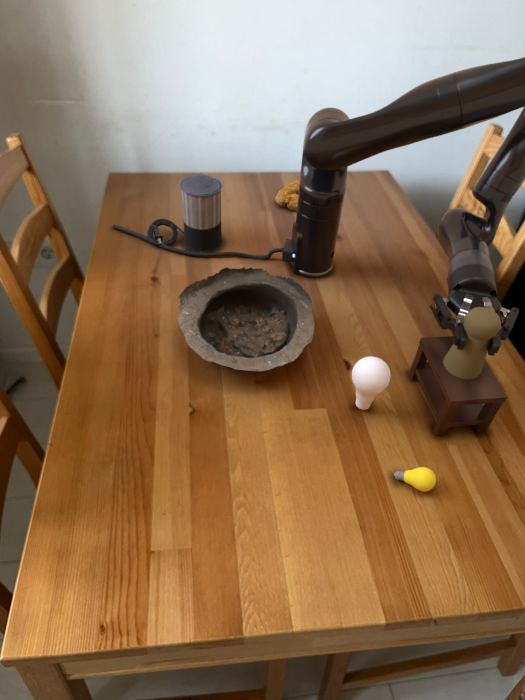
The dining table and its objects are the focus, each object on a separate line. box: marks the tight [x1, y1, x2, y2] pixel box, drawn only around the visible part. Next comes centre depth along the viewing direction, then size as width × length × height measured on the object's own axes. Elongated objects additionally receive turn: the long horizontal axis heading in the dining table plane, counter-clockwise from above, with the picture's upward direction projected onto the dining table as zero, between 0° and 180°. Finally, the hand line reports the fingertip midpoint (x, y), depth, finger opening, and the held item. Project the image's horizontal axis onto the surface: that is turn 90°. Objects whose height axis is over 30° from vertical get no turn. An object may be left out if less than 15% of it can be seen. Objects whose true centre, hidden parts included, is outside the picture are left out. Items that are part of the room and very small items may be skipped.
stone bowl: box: [177, 266, 316, 372], centre depth 94 cm, size 25×25×9 cm
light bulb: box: [393, 466, 437, 492], centre depth 76 cm, size 3×6×4 cm, turn 70°
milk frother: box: [146, 173, 224, 253], centre depth 115 cm, size 14×16×15 cm
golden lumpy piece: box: [274, 180, 300, 212], centre depth 134 cm, size 10×11×5 cm
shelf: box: [408, 335, 508, 436], centre depth 86 cm, size 9×14×9 cm, turn 7°
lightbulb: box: [351, 356, 392, 411], centre depth 84 cm, size 6×6×11 cm
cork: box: [443, 307, 502, 379], centre depth 79 cm, size 6×6×11 cm
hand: (477, 348), depth 76 cm, fingers closed on cork, 4 cm apart
